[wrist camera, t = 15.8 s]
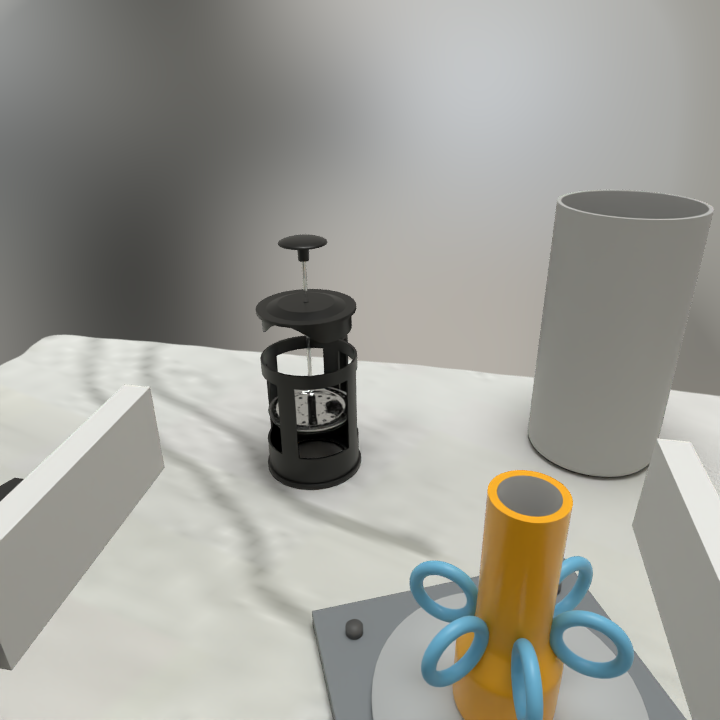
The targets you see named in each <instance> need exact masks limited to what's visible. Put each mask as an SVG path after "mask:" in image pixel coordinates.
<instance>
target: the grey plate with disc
mask: <svg viewBox="0 0 720 720" xmlns="http://www.w3.org/2000/svg"><path fill="white" fill-rule="evenodd" d="M564 560H565V559H564V558H563V561H564ZM577 578H578V576H577V574H576V573H575V572H573V573H571V574H570V575H568V576H567V577H566V578H565V579H564V580H563V581H562V582H561V583H560V584H559V586H558V592H557V598H556V604H557V603H559V602H560V601H561V600H563V599H564V598H565V597H566V596H567V595H568V593H569V592H570V591H571V590H572V588H573V586H574V585H575V583H576V581H577ZM471 580H472V581H473V582H474V584H475V585H476V587H477V589H478V585H479V576H478V577H473V578H471ZM424 590H425V592H426V593H427V594H428V596H429V597H430V598H431V599H432V600H433V601H435V602H436V603H438V604H439V605H441V606H443V607H446V608H450V609H460V608H463V607H464V606H465V605H466V603H467V599H466V596H465V594H464V592H463V590H462V589H461V588H460V587H459V586H458V585H457V584H456V583H455V582H449V583H444V584H439V585H435V586H430V587H425V588H424ZM556 604H555V605H556ZM573 610H583V611H589V612H593V613H596V614H599V615H601V616H604V617H606V618H608V619H609V620H611V619H610V618H609V617H608V615H607V614H606V613H605V611H604V610H603V609H602V607H601V606H600V605H599V603H598V602H597V601H596V600H595V598H594V597H593V596H592V594H591V593H590V592H589V590H588V591H587V593H586V595H585V596H584V598H583V599H582V600H581V602H580V603H579V604H578V605H577V606H576V607H575V608H574V609H573ZM312 617H313V626H314V631H315V635H316V640H317V644H318V649H319V654H320V658H321V663H322V667H323V672H324V677H325V681H326V686H327V690H328V695H329V700H330V704H331V709H332V714H333V718H334V720H464V718H463V717H462V716H461V714H460V712H459V710H458V708H457V706H456V703H455V700H454V696H453V690H452V684H451V685H449V686H446V687H433V686H431V685H429V684H428V683H427V682H426V681H425V680H424V678H423V676H422V673H421V662H422V658H423V655H424V653H425V651H426V649H427V647H428V645H429V644H430V642H431V641H432V639H433V638H434V637H435V636H436V635H437V634H438V633H439V632H440V631H441V630H442V629H443V628H444V627H445V626H447V625H448V624H449V623H448V622H444V621H442V620H439V619H437V618H435V617H433V616H431V615H430V614H428V613H427V612H426V611H425V610H424V609H422V608H421V606H420V605H419V604H418V603H417V602H416V600H415V599H414V597H413V595H412V592H411V591H406V592H401V593H396V594H392V595H387V596H382V597H377V598H373V599H368V600H363V601H358V602H354V603H349V604H344V605H339V606H334V607H330V608H325V609H320V610H315V611H312ZM563 640H564V643H565V644H566V646H567V647H568V648H569V649H570V650H571V651H572V652H573V653H575V654H576V655H578V656H580V657H581V658H584V659H586V660H589V661H593V662H609V661H611V660H613V659H615V658H616V656H617V653H618V651H617V648H616V646H615V644H614V643H613V642H612V640H611V639H609V638H608V637H607V636H606V635H604V634H603V633H601V632H599V631H597V630H595V629H592V628H588V627H582V626H576V627H571V628H568V629H567V630H565V631H564V633H563ZM455 643H456V640H455V641H453V642H452V643H451V644H450V645H449V646H448V647H447V648H446V650H445V651H444V652H443V654H442V655H441V657H440V659H439V661H438V663H437V667H436V670H437V671H441V670H444V669H447V668H449V667H451V666H452V665H454V655H455ZM553 720H686V718H685V717H684V716H683V714H682V713H681V712H680V710H679V709H678V708H677V706H676V705H675V704H674V702H673V701H672V700H671V699H670V697H669V696H668V695H667V693H666V692H665V691H664V689H663V688H662V687H661V685H660V684H659V683H658V681H657V680H656V679H655V677H654V676H653V675H652V673H651V672H650V671H649V669H648V668H647V667H646V666H645V664H644V663H643V662H642V660H641V659H640V658H639V656H638V655H637V654H636V652H635V651H634V660H633V664H632V666H631V667H630V669H629V670H628V671H627V672H626V673H624V674H623V675H621V676H618V677H615V678H610V679H599V678H593V677H589V676H586V675H583V674H580V673H578V672H576V671H574V670H573V669H571V668H569V667H568V666H567V665H565V664H564V667H563V674H562V680H561V685H560V690H559V695H558V700H557V705H556V710H555V714H554V718H553Z"/></svg>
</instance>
